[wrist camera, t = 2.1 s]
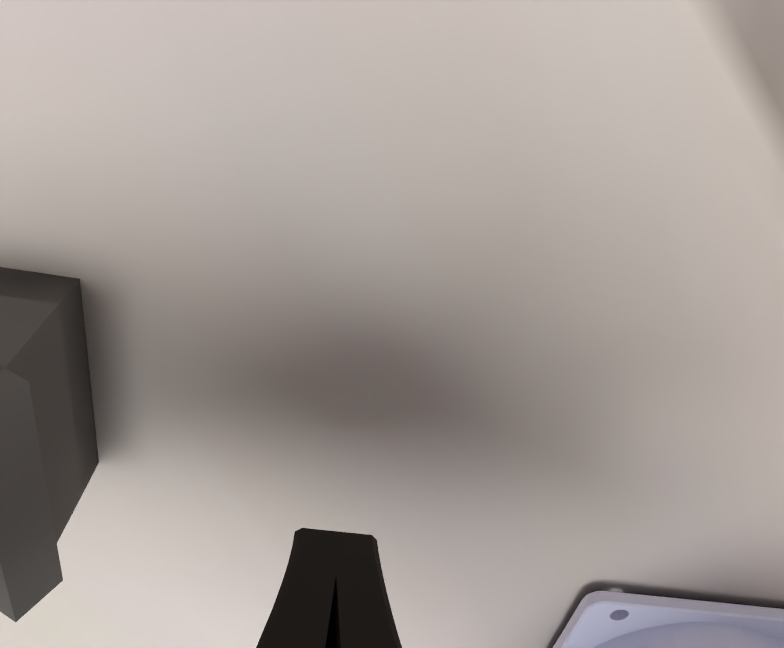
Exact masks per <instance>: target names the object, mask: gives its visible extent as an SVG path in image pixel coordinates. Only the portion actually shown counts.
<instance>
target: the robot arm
mask: <svg viewBox="0 0 784 648" xmlns="http://www.w3.org/2000/svg"><path fill="white" fill-rule="evenodd" d="M256 648H402V646H401V643H400V640H399V636H398V633H397V630H396V626H395V623H394V619H393V615H392V611H391V608H390V604H389V600H388V596H387V592H386V588H385V583H384V579H383V574H382V569H381V564H380V558H379V553H378V546H377V540H376V539H375V538H374V537H373V536H372V535H365V534H356V533H346V532H336V531H326V530H317V529H307V528H301V529H299V530H297V531H295V535H294V540H293V546H292V550H291V554H290V558H289V562H288V565H287V569H286V572H285V575H284V578H283V581H282V584H281V587H280V590H279V593H278V595H277V598H276V601H275V604H274V606H273V609H272V611H271V614H270V616H269V619H268V621H267V623H266V626H265V628H264V630H263V633H262V635H261V638H260V640H259V642H258V645H257V647H256ZM553 648H784V609H779V608H769V607H759V606H749V605H739V604H730V603H720V602H710V601H700V600H690V599H680V598H670V597H660V596H650V595H640V594H630V593H621V592H611V591H595V592H591V593H590V594H588V595H586V596H585V597H584V598H583V599H582V601H581V602H580V604H579V605H578V607H577V609H576V610H575V612H574V614H573V615H572V617H571V619H570V620H569V622H568V623H567V625H566V627H565V628H564V630H563V632H562V633H561V635H560V637H559V638H558V640H557V642H556V643H555V645H554V646H553Z"/></svg>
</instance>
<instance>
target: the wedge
mask: <svg viewBox="0 0 784 648" xmlns="http://www.w3.org/2000/svg"><path fill="white" fill-rule="evenodd" d="M98 463H99V461H98V451H97V441H96V432H95V422H94V413H93V403H92V393H91V384H90V374H89V364H88V355H87V345H86V335H85V326H84V316H83V307H82V297H81V287H80V279H77V278H70V277H63V276H56V275H50V274H43V273H36V272H29V271H23V270H16V269H9V268H2V267H0V611H1V612H2V613H3V614H5V615H6V616H8V617H9V618H11V619H12V620H13V621H15V622H17V621H18V620H19V619H20V618H21V617H22V616H23V615H24V614H26V613H27V612H28V611H29V610H30V609H31V608H32V607H33V606H34V605H36V604H37V603H38V602H39V601H40V600H41V599H42V598H43V597H45V596H46V595H47V594H48V593H49V592H50V591H51V590H52V589H54V588H55V587H56V586H57V585H58V584H59V583H60V582H61V581H63V578H62V572H61V566H60V561H59V555H58V549H57V542H58V540H59V538H60V536H61V534H62V532H63V530H64V528H65V526H66V525H67V523H68V521H69V519H70V517H71V515H72V513H73V511H74V509H75V507H76V505H77V503H78V501H79V499H80V498H81V496H82V494H83V492H84V490H85V488H86V486H87V484H88V482H89V480H90V478H91V476H92V474H93V473H94V471H95V469H96V467H97V465H98Z"/></svg>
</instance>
